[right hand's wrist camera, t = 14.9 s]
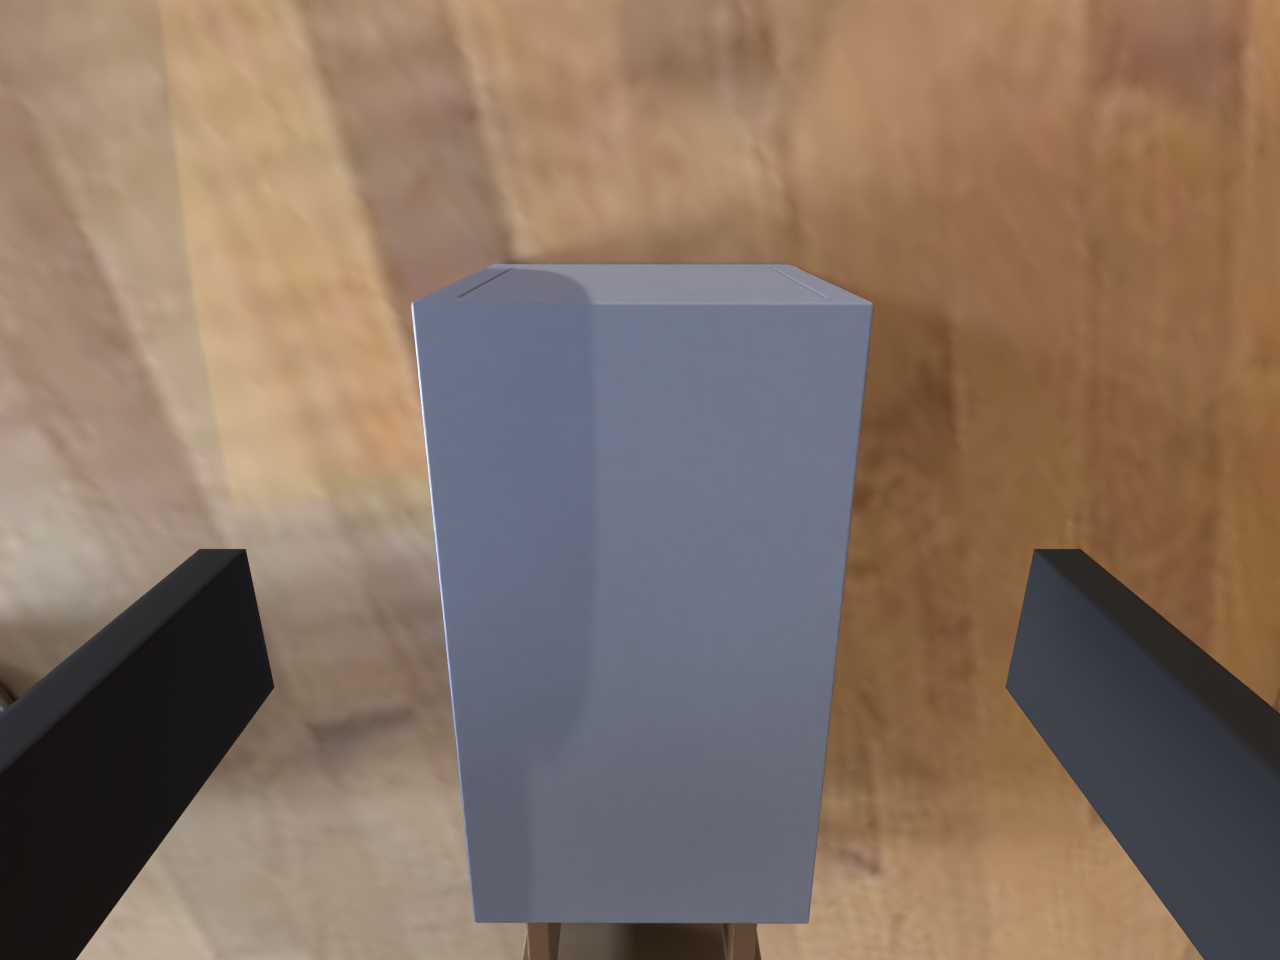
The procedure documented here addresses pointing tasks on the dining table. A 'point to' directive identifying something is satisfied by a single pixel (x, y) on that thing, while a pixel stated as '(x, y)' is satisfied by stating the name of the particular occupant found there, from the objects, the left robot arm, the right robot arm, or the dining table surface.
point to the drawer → (641, 941)
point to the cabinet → (642, 578)
